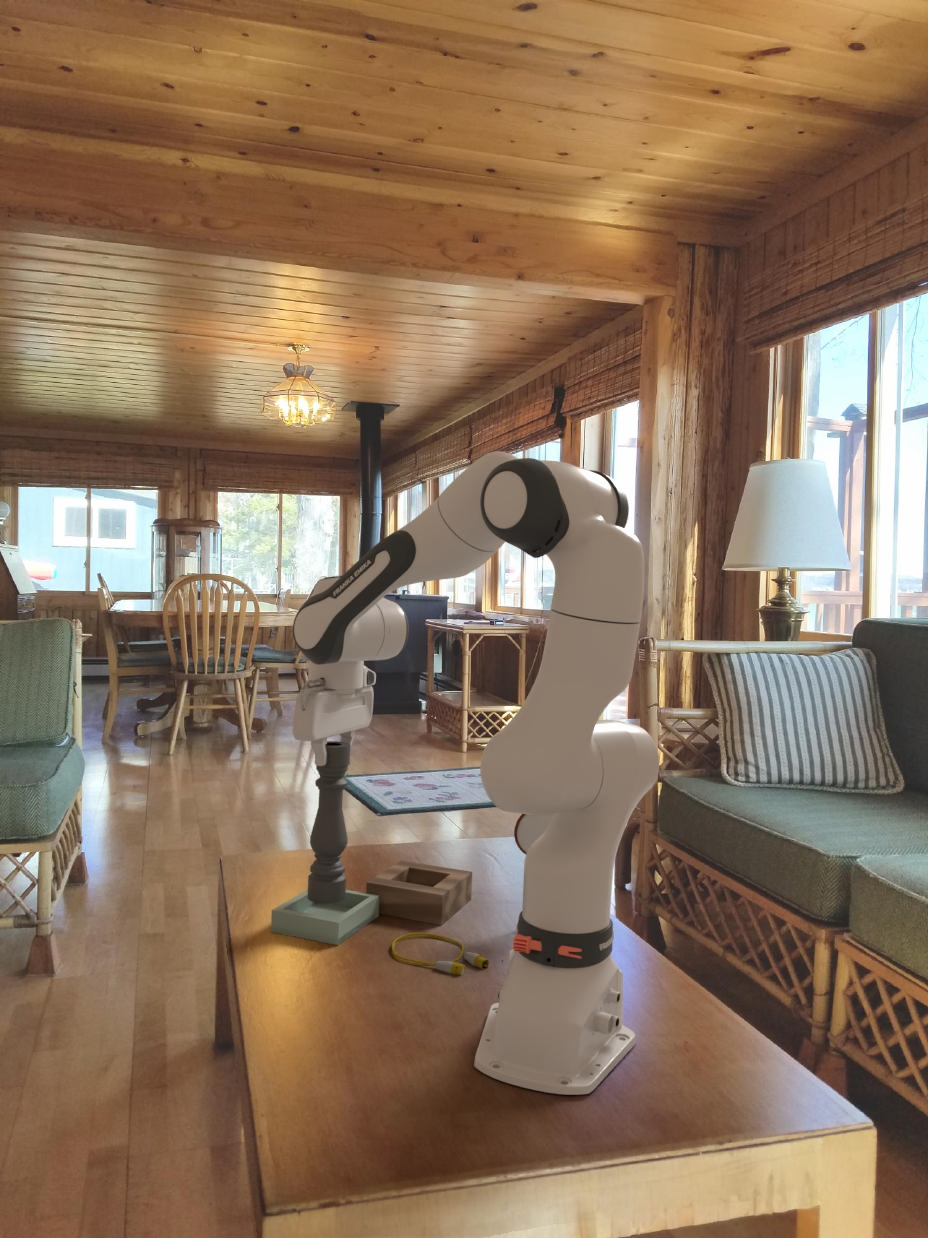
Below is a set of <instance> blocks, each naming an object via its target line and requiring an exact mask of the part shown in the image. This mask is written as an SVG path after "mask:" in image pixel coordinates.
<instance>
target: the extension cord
mask: <svg viewBox="0 0 928 1238" xmlns="http://www.w3.org/2000/svg"><path fill="white" fill-rule="evenodd" d="M419 938H422V939H423V938H425V939H426V938H429V939H430V938H431V939H437V940H441V941H445V942H448V943H452V944H455V945H457V946H459V947H460V948H461V950H460V953H459V956H458V957H456V958H455V959H452V960H448V961H447V960H444V961H443V960H437V961H436V962H435V963H434V962H430V961H423V960H418V959H413V958H408V957H405V956H403V955H400V954H398V953H397V952H396V950H395V947H396V945H397V944H398V943H400V942H402V941H405V940H406V941H407V940H410V939H419ZM464 951H465V946H464V944H463V943H461V942H460V941H458V940H456V939H453V938H450V937H447V936H444V935H439V934H436V933H435V934H434V933H427V932H411V933H406V934H402V935H400V936H398V937H396V938H395V939H394V940H393V941H392V943H391V954H392V956H393V958H394V959H395V960H396V961H397V962H400V963H402V964H406V965H412V966H428V967H429V966H434V968H435V970H437V971H440V972H443V973H446V974H451V975H456V976H462V975H463V974H464V973H465V972H466V965H465V964H463V963H459V962H458V961H459V960H460V959H461V958H462V956H463V958H464V960H465V961H466V962H468V964H469V965H471V966H474V967H477V968H479V969H481V970H483V967H484V968H486V967H487V968H486V969H488V968H489V966H490V961H489V959H488V958H485V957H483V956H482V955H480V954H479V953H478V952H471V951H465V953H464Z"/></svg>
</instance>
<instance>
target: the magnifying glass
mask: <svg viewBox="0 0 928 1238" xmlns="http://www.w3.org/2000/svg"><path fill="white" fill-rule="evenodd" d="M553 816H554V813H551V814H544V815H529V814H521V815H519V817H518V819H517V820H516V822H515V826H514V828H513V829H514V831H513V834H514V835H513V837H514V841H515V844H516V846H517V848H518V849H519V851H521V852H522V853H523V854H525V855H526V854H527V851H528V850H529V848H530V847H531V845H532V844H533V843H534V842H535V841H536V840H537V839H538V838H539V837H540V836H541V835H542V834H543V833H544V832H545V831H546V829H547V828H548V826H549V824H550V822H551V820H552V818H553Z"/></svg>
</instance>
